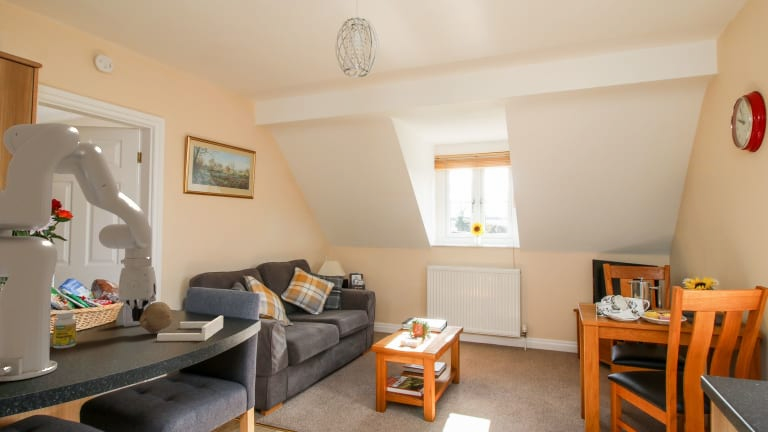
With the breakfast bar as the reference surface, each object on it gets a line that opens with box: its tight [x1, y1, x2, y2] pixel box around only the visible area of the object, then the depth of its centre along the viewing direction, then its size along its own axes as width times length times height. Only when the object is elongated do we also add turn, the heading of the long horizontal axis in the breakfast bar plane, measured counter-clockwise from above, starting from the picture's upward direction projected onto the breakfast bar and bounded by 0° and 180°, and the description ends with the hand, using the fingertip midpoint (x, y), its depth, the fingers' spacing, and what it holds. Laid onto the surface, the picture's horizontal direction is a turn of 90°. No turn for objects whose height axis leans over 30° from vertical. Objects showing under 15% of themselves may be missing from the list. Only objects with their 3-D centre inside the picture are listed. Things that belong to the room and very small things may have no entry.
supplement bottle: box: [52, 310, 77, 349], centre depth 127 cm, size 5×5×10 cm
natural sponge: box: [139, 301, 173, 334], centre depth 142 cm, size 9×9×10 cm
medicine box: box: [122, 300, 152, 328], centre depth 156 cm, size 8×4×9 cm, turn 130°
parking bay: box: [156, 315, 224, 342], centre depth 143 cm, size 18×14×4 cm
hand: (137, 320), depth 142 cm, fingers closed
